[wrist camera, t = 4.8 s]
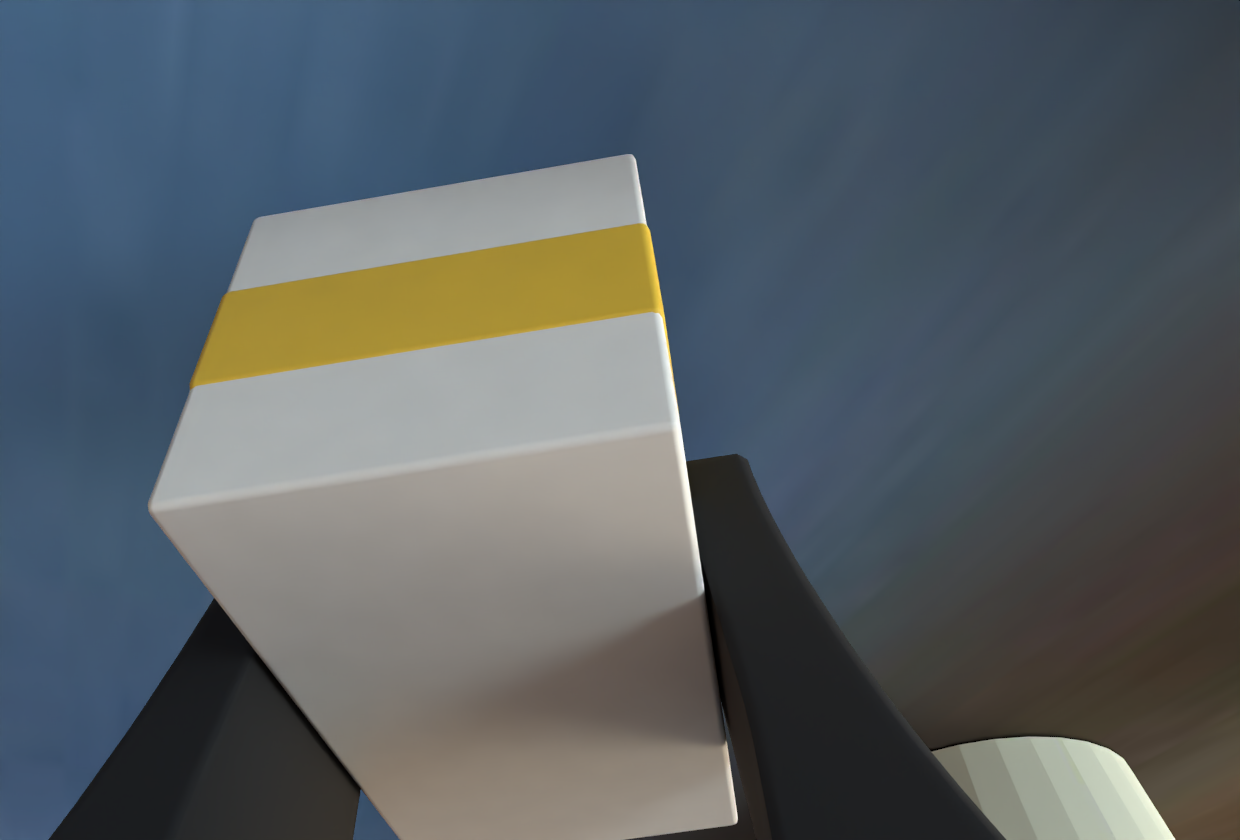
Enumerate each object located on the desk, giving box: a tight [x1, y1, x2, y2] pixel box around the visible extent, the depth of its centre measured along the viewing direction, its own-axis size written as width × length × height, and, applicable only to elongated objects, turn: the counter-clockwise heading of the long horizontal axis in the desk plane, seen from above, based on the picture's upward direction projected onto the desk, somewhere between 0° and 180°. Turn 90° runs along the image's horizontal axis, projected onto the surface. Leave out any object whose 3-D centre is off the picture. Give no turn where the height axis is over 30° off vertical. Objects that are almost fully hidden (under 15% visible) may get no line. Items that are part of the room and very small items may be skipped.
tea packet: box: [148, 154, 738, 840], centre depth 11 cm, size 4×7×4 cm, turn 9°
